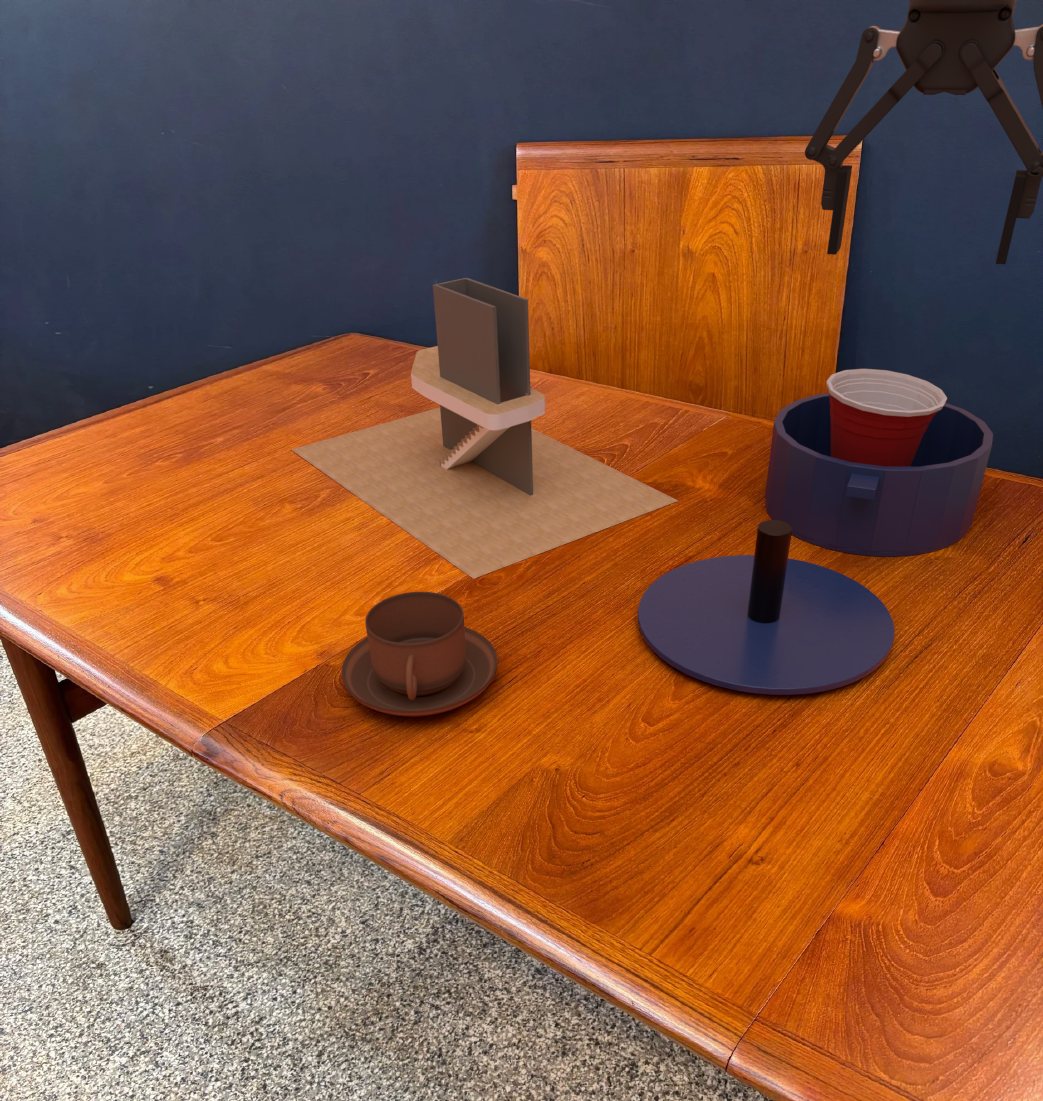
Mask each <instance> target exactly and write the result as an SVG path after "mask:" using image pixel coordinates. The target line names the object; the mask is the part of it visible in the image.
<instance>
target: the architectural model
mask: <svg viewBox="0 0 1043 1101" xmlns="http://www.w3.org/2000/svg"><path fill="white" fill-rule="evenodd" d="M432 290H433V291H432V294H433V305H434V306H433V307H434V317H435V330H436V342H437V343H436V344H437V345H434V346H432V347H427V348H424V349H420V350H418V351H416V354H415V357H414V361H413V362H412V363H413V364H412V367H411V371H410V377H411V387H412V389H413V390H414V391H416V392H417V393H418V394H420V395H421V396H422V397H424V398H426V399H429V400H430V401H432V402H434V403H436V404H438V405H439V407H437V408H433V409H429V410H426V411H422V412H419V413H415V414H412V415H409V416H404V417H401V418H398V419H394V420H389V421H387V422H383V423H379V424H376V425H372V426H370V427H365V428H363V429H357V430H355V431H352V432H348V433H344V434H341V435H338V436H334V437H330V438H327V439H323V440H319V441H316V442H313V443H309V444H305V445H301V446H299V447H295V448H291V449H290V450H291V451H292V452H294V453H295V454H296V455H298V456H299V457H301V458H302V459H303V460H305V461H306V462H308V463H309V464H311V465H312V466H313V467H314V468H316V469H318V470H319V471H321V473H323V474H325V475H326V476H328V477H329V478H330V479H331V480H333V481H334V482H336V483H338V485H340V486H341V487H343V488H344V489H345V490H347V491H348V492H350V493H351V494H352V495H354V496H356V497H357V498H358V499H360V500H361V501H363V502H364V503H366V504H367V505H368V506H370V507H371V508H373V510H376V511H377V512H378V513H380V514H381V515H383V517H385V518H387V519H388V520H390V522H392V523H394V524H395V525H396V526H398V527H399V528H401V529H402V530H404V531H405V532H406V533H408V534H409V535H411V536H412V537H414V538H415V539H416V540H418V541H419V542H421V543H422V544H424V545H425V546H426V547H428V548H429V549H430V550H431V551H433V552H435V553H436V554H437V555H439V556H440V557H442V558H443V559H444V560H446V561H448V562H449V563H450V564H452V565H453V566H454V567H456V568H458V569H459V570H460V571H462V572H463V573H464V574H466V575H467V576H469V577H470V578H472V579H473V580H474V579H477V578H479V577H483V576H485V575H487V574H490V573H493V572H496V571H498V570H500V569H503V568H506V567H509V566H511V565H514V564H517V563H519V562H522V561H524V560H527V559H529V558H532V557H535V556H537V555H540V554H542V553H545V552H548V551H550V550H553V549H555V548H559V547H561V546H563V545H564V546H565V545H566V544H568V543H572V542H574V541H577V540H579V539H582V538H585V537H587V536H590V535H593V534H595V533H597V532H600V531H603V530H605V529H608V528H611V527H613V526H616V525H618V524H621V523H624V522H627V521H629V520H632V519H634V518H637V517H640V516H643V515H645V514H648V513H650V512H653V511H655V510H658V509H661V508H664V507H666V506H669V505H671V504H674V503H676V502H679V500H678V499H675V498H674V497H672V496H670V495H668V494H666V493H663V492H662V491H660V490H657V489H655V488H654V487H652V486H649V485H648V484H645V483H644V482H642V481H639V480H638V479H635V478H634V477H631V476H629V475H627V474H625V473H624V472H621V471H619V470H617V469H615V468H613V467H611V466H609V465H607V464H606V463H604V462H601V461H599V460H598V459H595V458H593V457H591V456H589V455H586V454H585V453H582V452H581V451H579V450H577V449H574V448H573V447H571V446H569V445H567V444H564V443H562V442H560V441H559V440H556V439H555V438H552V437H551V436H549V435H546V434H544V433H543V432H540V431H539V430H537V429H535V428H532V420H534V419H537V418H539V417H541V416H543V415H545V414H546V395H545V394H543V393H542V392H540V391H538V390H536V389H535V388H533V387H531V361H530V360H531V359H530V356H531V355H530V325H529V324H530V323H529V299H528V298H525V297H522V296H521V295H517V294H514V293H512V292H508V291H506V290H503V289H500V288H497V287H495V286H491V285H489V284H486V283H483V282H480V281H477V280H475V279H472V278H468V277H463V278H459V279H453V280H449V281H445V282H440V283H435V284H432Z"/></svg>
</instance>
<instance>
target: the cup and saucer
mask: <svg viewBox="0 0 1043 1101" xmlns="http://www.w3.org/2000/svg"><path fill="white" fill-rule="evenodd" d="M464 614H465V613H464V609H463V607H462V606H461V604H460V603H459V602H458V601H457V600H455V599H454V598H452V597H451V596H447V595H446V594H443V593H438V592H433V591H409V592H403V593H398V594H395V595H392V596H389V597H387V598H384V599H383V600H380V601H379V602H377V603H376V604H375V605H373V606H372V607H371V608H370V609H369V611H368V612H367V614H366V616H365V618H364V619H365V620H364V623H365V630H366V631H365V632H366V637H365V638H364V639H362V640H361V641H359V642H358V643H357V644H355V645H354V647H352V648H351V649H350V650H349V652H348V653H347V654H346V656H345V658H344V660H343V662H342V666H341V678H342V682H343V684H344V686H345V688H346V690H347V691H348V693H349V694H350V696H352V698H354V700H356V701H357V702H358V703H360V704H362V705H363V706H365V707H367V708H370V709H372V710H374V711H377V712H380V713H383V714H387V715H391V716H397V717H409V718H410V717H411V718H412V717H425V716H426V717H428V716H433V715H438V714H443V713H447V712H449V711H452V710H455V709H457V708H460V707H462V706H463V705H466V704H468V703H469V702H471V701H472V700H474V699H475V698H476V697H478V696H479V695H481V694H482V693H483V692H484V691H485V690H486V689H487V688H488V687H489V686H490V684H491V683H492V681H493V680H494V677H495V675H496V673H497V668H498V661H499V660H498V654H497V650H496V649H495V647H494V645H493V644H492V643H491V641H490V640H489V639H487V638H486V637H485V635H483V634H481V633H479V632H478V631H476V630H474V629H471V628H469V627H466V626H465V615H464Z"/></svg>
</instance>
